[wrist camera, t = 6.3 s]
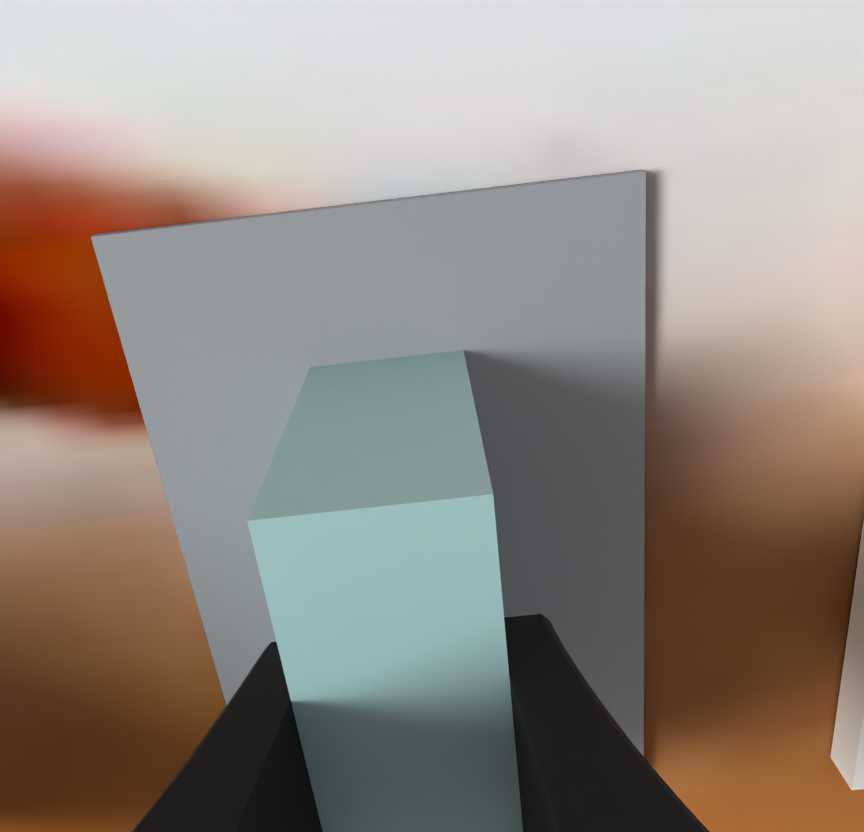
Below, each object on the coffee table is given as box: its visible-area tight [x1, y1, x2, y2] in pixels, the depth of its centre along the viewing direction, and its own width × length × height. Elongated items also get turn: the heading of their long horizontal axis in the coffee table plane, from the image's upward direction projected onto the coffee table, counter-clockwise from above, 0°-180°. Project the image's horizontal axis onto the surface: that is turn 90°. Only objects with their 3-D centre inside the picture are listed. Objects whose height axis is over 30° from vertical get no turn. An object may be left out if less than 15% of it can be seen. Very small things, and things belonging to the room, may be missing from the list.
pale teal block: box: [247, 350, 523, 832], centre depth 11 cm, size 8×2×5 cm, turn 6°
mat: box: [91, 170, 646, 757], centre depth 13 cm, size 12×8×1 cm, turn 6°
